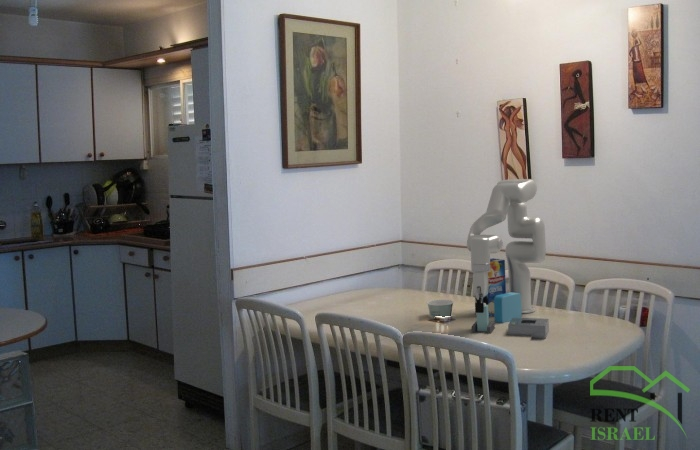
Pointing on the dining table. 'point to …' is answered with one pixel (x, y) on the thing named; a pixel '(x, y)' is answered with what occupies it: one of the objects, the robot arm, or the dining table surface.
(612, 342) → the dining table surface
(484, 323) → the teal plug
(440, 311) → the food container
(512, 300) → the data package
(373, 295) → the dining table surface
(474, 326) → the bracket
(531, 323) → the port block
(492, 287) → the juice carton
